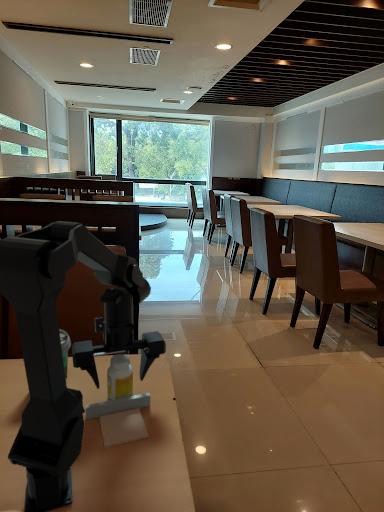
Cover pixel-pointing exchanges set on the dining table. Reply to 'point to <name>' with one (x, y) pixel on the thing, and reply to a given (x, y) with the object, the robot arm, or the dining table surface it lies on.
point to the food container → (64, 348)
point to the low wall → (117, 405)
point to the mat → (122, 427)
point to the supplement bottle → (119, 377)
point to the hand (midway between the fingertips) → (120, 383)
